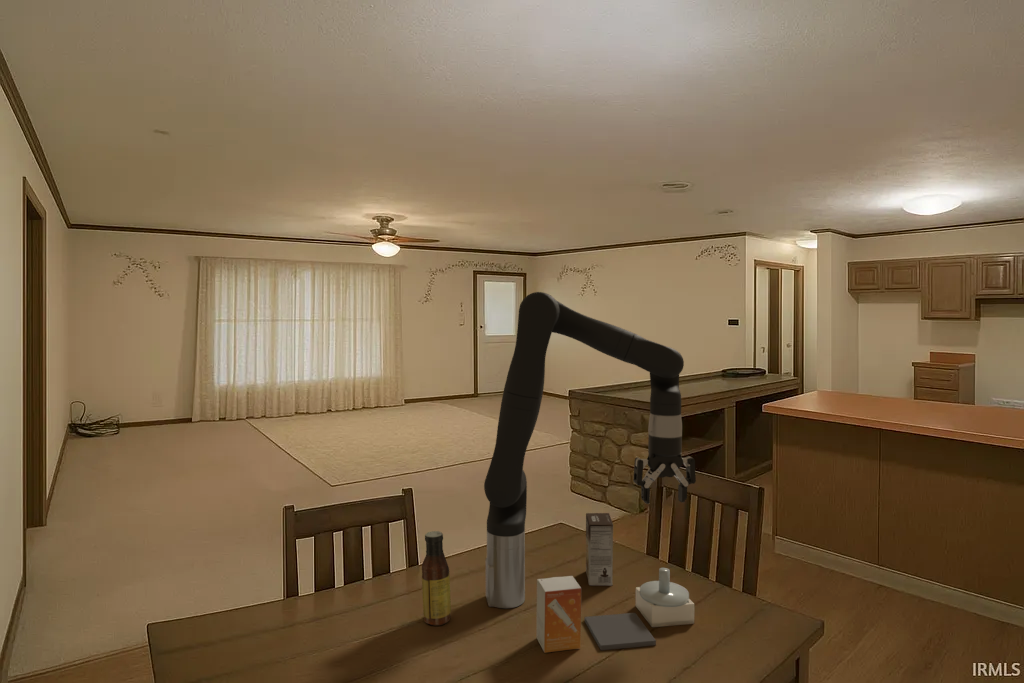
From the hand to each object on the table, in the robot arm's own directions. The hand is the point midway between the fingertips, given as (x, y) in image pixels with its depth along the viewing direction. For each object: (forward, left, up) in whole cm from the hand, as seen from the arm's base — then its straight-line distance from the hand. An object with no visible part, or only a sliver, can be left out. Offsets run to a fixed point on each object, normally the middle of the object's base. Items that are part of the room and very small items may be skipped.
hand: (664, 502), depth 140 cm
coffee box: (-10, +19, -26) cm, 34 cm away
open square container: (-1, -2, -26) cm, 26 cm away
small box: (-28, -10, -26) cm, 39 cm away
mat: (-14, -8, -26) cm, 30 cm away
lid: (-1, -2, -21) cm, 21 cm away
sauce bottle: (-53, +4, -26) cm, 59 cm away
